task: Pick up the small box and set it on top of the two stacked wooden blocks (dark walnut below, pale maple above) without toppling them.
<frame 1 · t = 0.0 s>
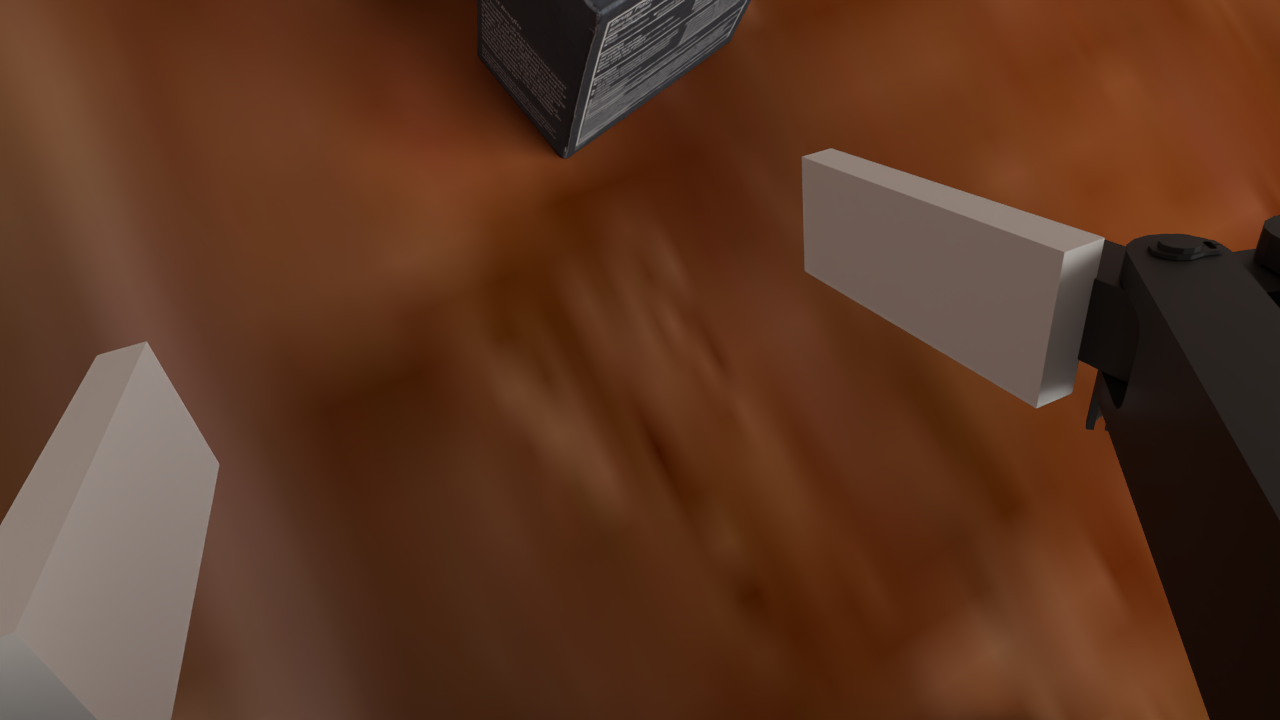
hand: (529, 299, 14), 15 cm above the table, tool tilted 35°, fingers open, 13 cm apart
small box: (606, 48, 32), on the table
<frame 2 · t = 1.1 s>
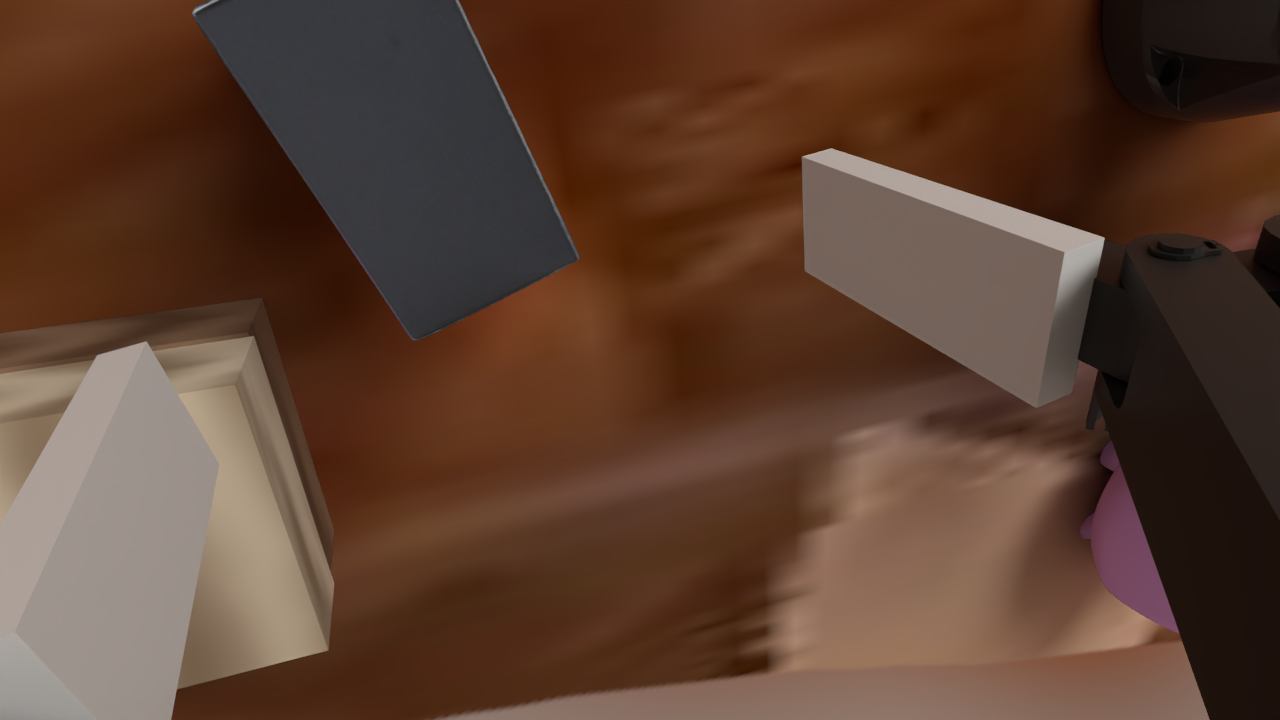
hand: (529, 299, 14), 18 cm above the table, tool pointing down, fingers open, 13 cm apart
tower base block: (185, 442, 32), on the table, touching tower top block
tower top block: (167, 498, 29), point 4 cm above the table, touching tower base block
teapot: (1154, 484, 58), on the table
small box: (404, 101, 29), on the table
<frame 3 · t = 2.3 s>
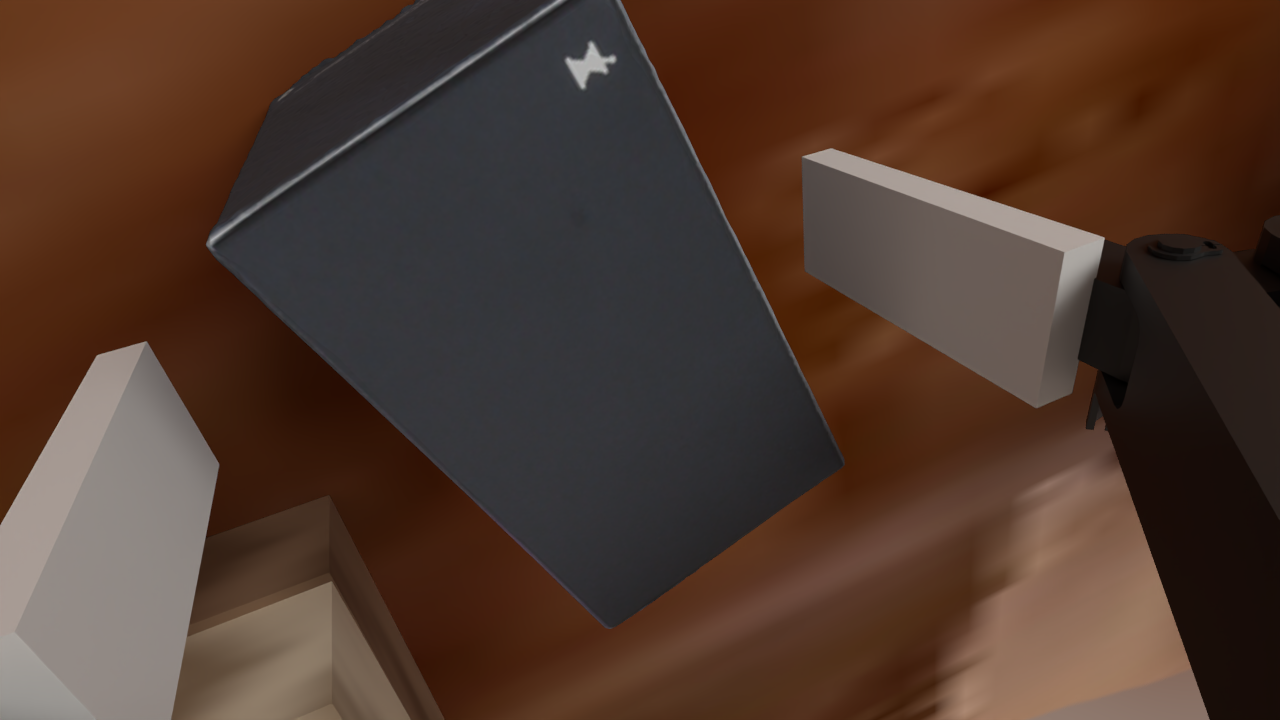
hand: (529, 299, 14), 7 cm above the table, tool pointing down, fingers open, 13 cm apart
tower base block: (253, 677, 25), on the table, touching tower top block
small box: (487, 207, 20), on the table
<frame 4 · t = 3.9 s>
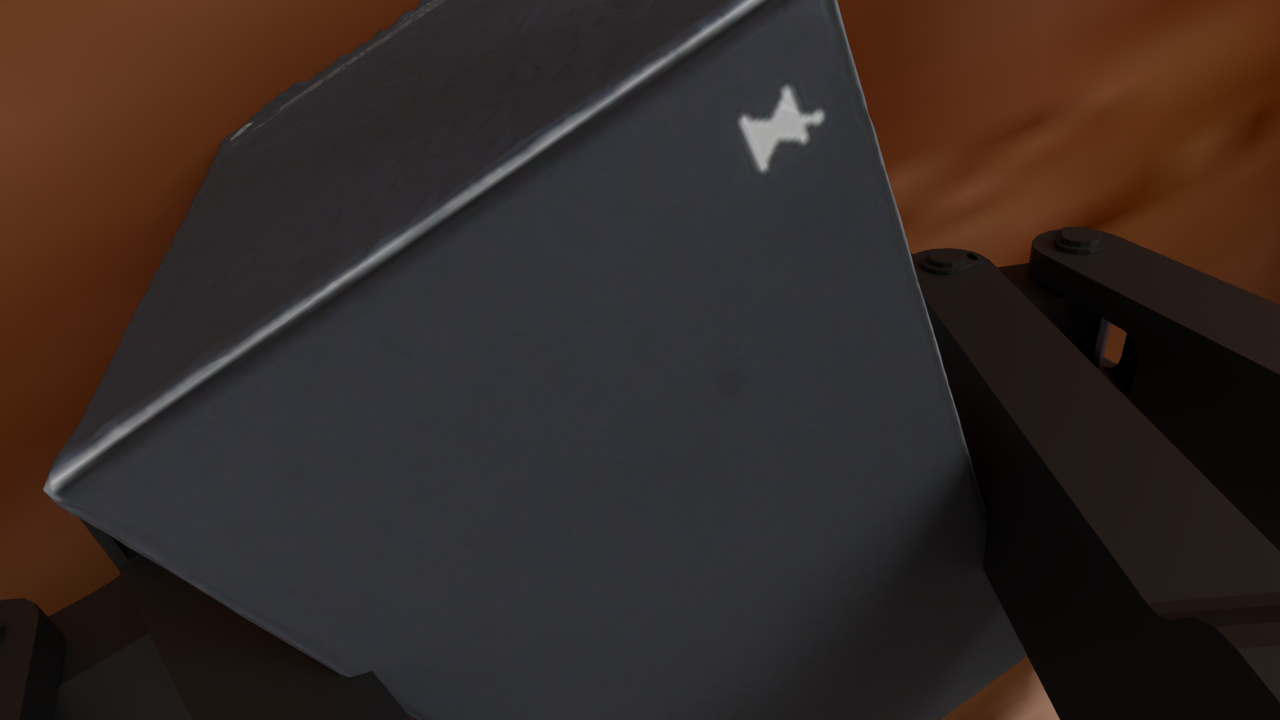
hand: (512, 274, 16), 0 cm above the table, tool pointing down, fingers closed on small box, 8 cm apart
small box: (505, 267, 16), on the table, touching gripper
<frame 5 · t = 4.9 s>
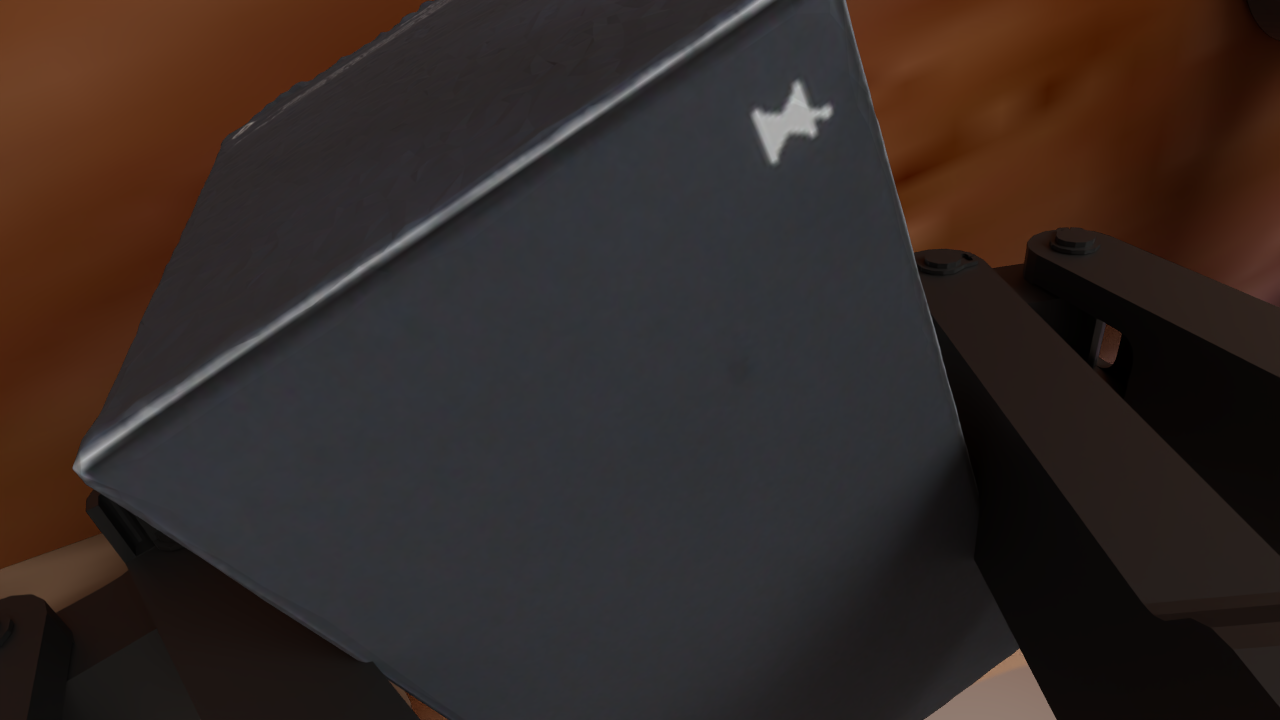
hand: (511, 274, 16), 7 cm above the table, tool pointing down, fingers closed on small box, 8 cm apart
tower base block: (213, 651, 25), on the table, touching tower top block
small box: (503, 268, 16), point 7 cm above the table, touching gripper
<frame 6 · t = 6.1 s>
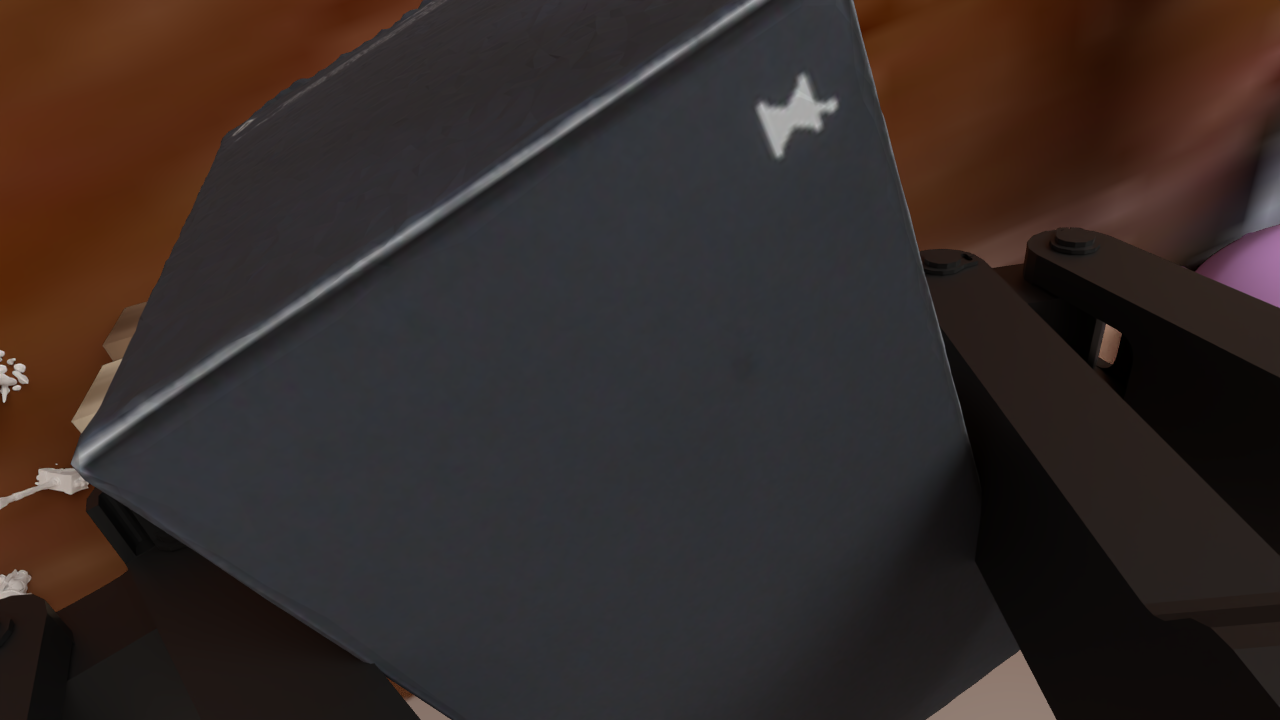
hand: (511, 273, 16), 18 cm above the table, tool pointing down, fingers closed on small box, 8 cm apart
tower base block: (315, 390, 34), on the table, touching tower top block
tower top block: (317, 444, 31), point 4 cm above the table, touching tower base block
teapot: (1209, 314, 59), on the table
small box: (504, 266, 16), point 17 cm above the table, touching gripper
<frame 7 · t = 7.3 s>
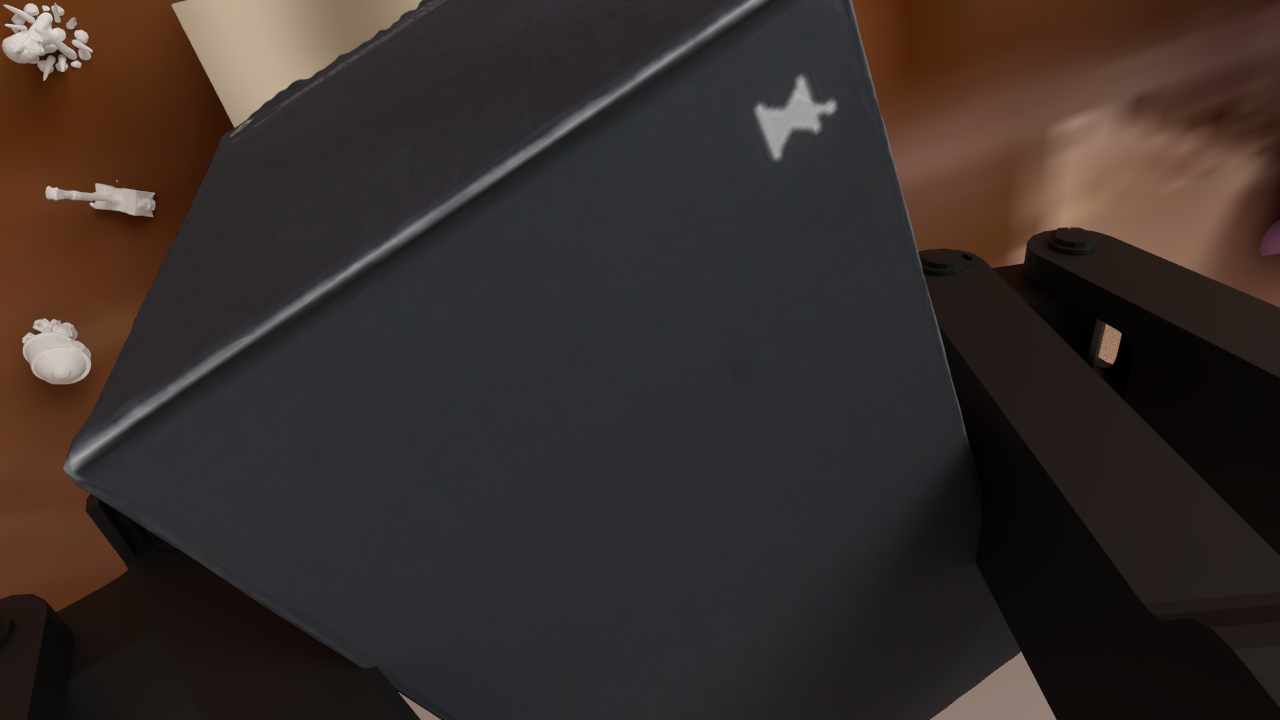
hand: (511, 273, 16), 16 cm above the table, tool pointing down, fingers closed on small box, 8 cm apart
tower top block: (435, 160, 26), point 3 cm above the table
small box: (503, 267, 16), point 15 cm above the table, touching gripper
when the fingers open (10 cm above the table, at t = 9.1 s): small box drops 2 cm, resting on tower top block.
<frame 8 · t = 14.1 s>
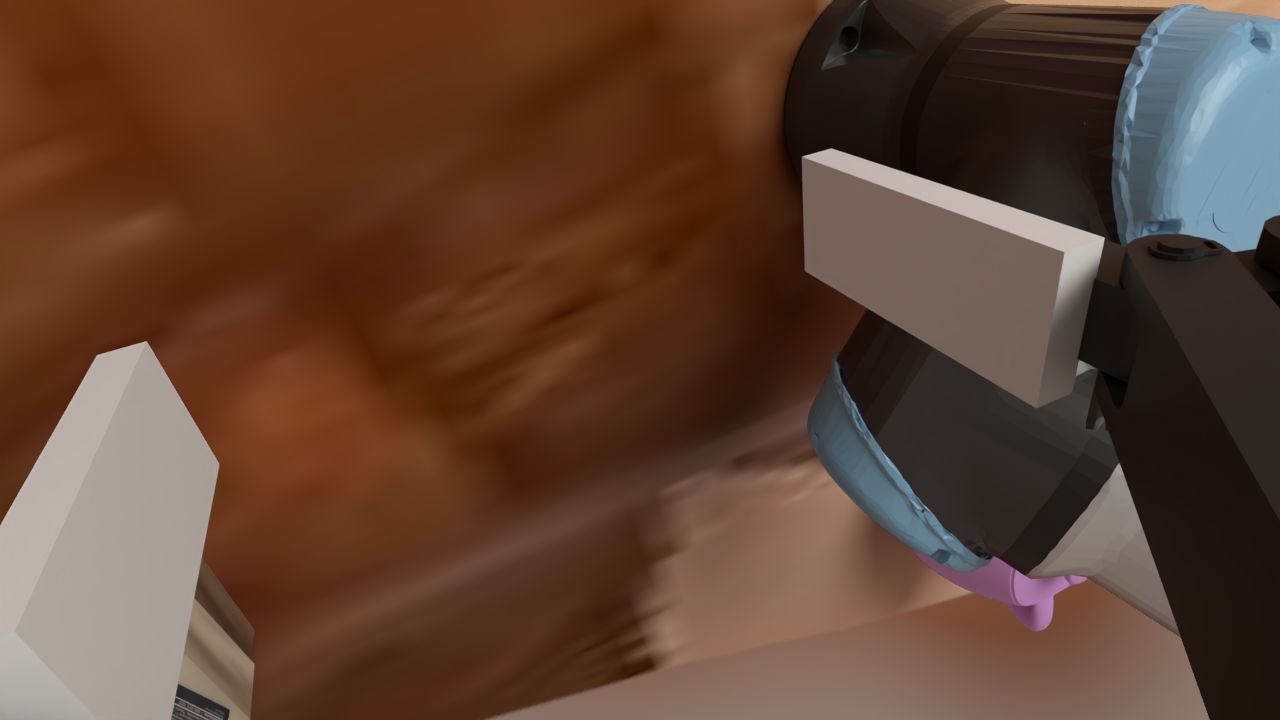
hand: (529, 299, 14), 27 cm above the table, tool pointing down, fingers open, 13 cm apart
tower base block: (118, 591, 42), on the table, touching tower top block
tower top block: (100, 639, 39), point 4 cm above the table, touching small box, tower base block
teapot: (961, 465, 69), on the table
small box: (102, 702, 36), point 7 cm above the table, touching tower top block
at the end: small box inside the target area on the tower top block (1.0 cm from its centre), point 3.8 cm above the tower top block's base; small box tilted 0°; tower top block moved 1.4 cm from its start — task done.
